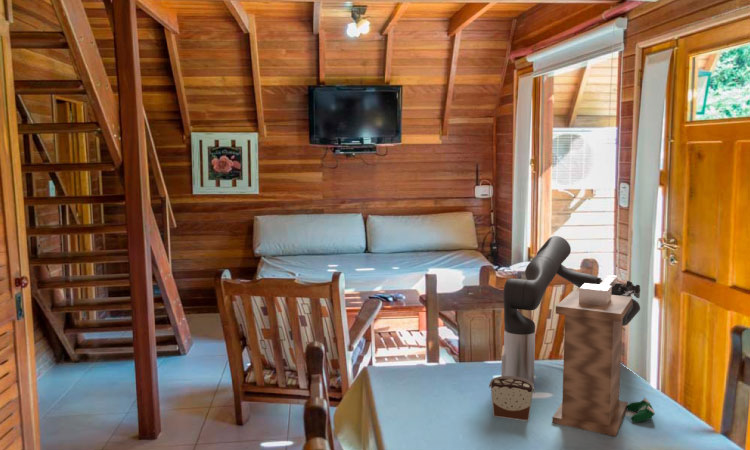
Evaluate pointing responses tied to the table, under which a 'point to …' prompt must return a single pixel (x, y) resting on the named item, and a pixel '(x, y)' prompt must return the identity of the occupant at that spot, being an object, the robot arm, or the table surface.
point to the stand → (592, 364)
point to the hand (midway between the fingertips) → (613, 281)
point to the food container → (511, 397)
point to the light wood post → (597, 291)
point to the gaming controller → (641, 410)
